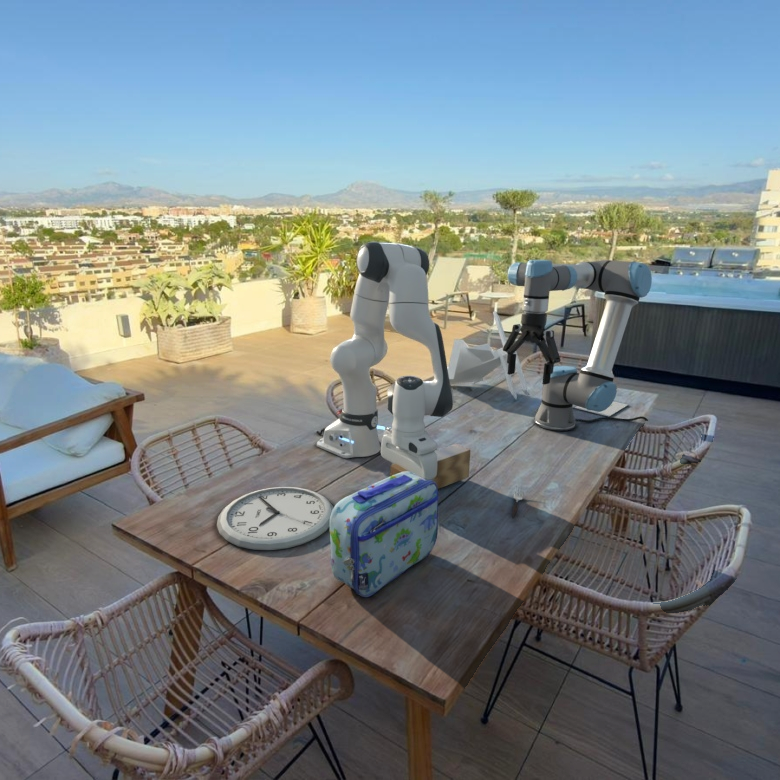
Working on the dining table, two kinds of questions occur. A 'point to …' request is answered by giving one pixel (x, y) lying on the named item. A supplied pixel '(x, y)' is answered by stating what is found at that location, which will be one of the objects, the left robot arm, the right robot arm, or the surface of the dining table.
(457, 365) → the white plastic object
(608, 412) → the invitation card
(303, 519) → the wall clock
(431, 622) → the dining table surface
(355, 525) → the lunch box
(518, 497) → the fork
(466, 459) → the bar
